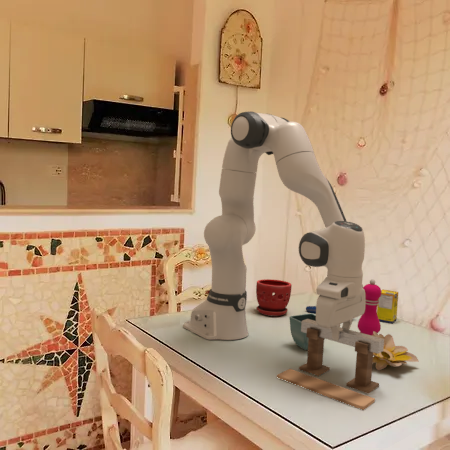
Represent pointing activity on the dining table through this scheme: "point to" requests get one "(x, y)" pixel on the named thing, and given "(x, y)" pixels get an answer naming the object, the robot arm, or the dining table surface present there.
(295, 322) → the flower pot
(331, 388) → the light wood flat board
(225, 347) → the dining table surface
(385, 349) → the decorative flower
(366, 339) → the steel rail
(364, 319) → the pepper mill
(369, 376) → the walnut post
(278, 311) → the plant pot
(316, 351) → the walnut post
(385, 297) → the supplement box
